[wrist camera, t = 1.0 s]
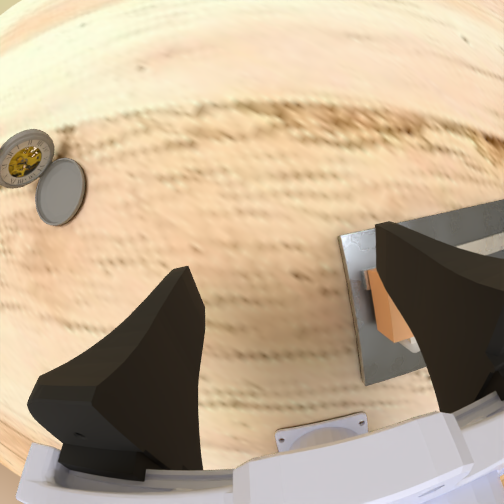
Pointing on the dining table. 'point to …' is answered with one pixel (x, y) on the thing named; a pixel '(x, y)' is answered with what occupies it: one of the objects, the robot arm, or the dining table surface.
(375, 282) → the orange block
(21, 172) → the pocket watch
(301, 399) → the dining table surface
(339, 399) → the dining table surface
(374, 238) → the bolt plate
